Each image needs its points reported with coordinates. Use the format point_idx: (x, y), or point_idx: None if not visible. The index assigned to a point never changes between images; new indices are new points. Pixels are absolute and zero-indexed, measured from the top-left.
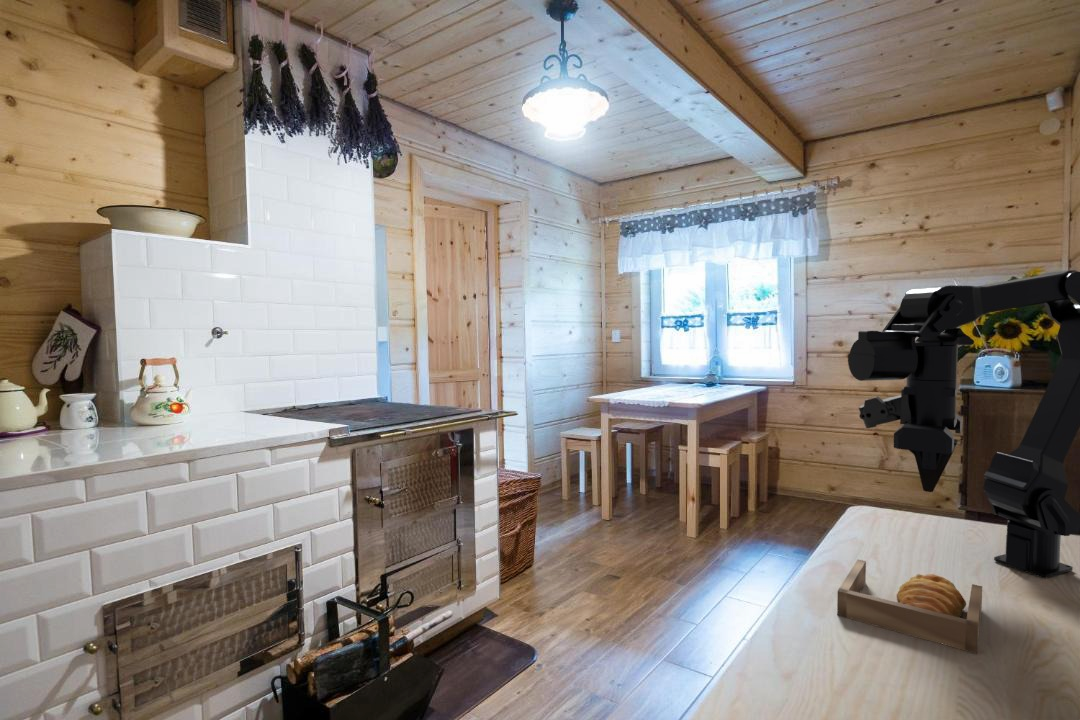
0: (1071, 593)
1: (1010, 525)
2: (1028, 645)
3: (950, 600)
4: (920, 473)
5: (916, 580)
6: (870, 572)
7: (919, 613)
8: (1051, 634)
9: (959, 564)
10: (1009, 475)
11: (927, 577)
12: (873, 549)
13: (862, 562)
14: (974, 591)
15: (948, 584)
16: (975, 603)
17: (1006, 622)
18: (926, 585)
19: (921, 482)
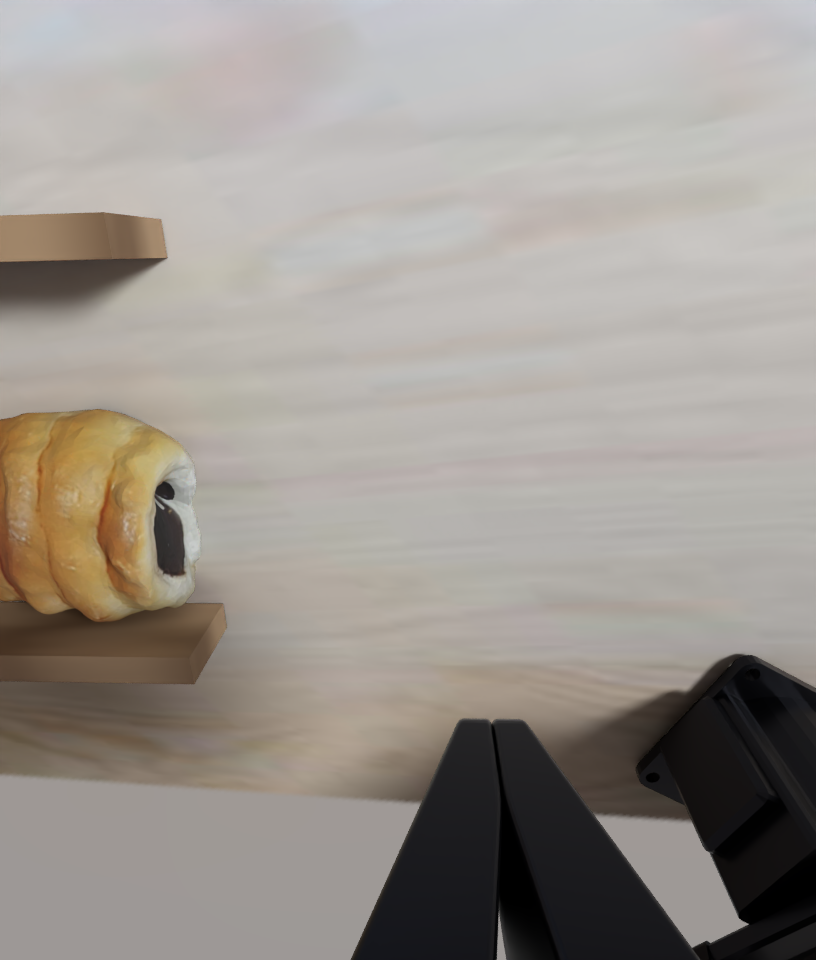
0: None
1: (801, 847)
2: (86, 716)
3: (20, 598)
4: (377, 905)
5: (50, 497)
6: (305, 250)
7: None
8: (200, 758)
9: (640, 552)
10: None
11: (112, 530)
12: (647, 193)
13: (80, 247)
14: (121, 666)
15: (120, 594)
16: (18, 670)
17: None
18: (9, 538)
19: (434, 780)
